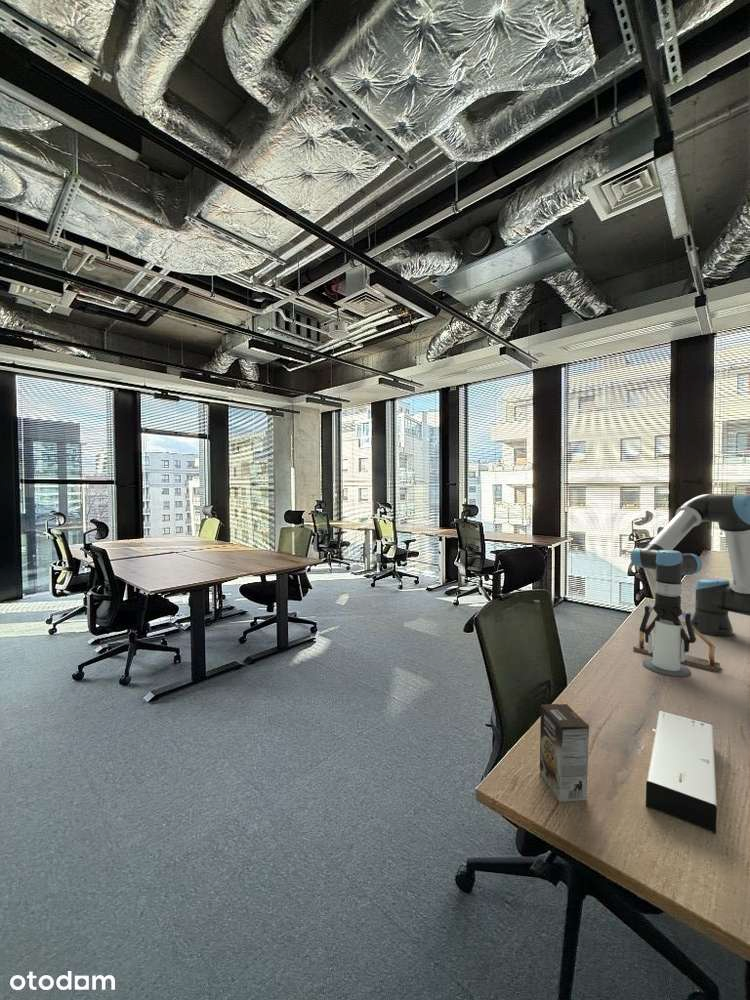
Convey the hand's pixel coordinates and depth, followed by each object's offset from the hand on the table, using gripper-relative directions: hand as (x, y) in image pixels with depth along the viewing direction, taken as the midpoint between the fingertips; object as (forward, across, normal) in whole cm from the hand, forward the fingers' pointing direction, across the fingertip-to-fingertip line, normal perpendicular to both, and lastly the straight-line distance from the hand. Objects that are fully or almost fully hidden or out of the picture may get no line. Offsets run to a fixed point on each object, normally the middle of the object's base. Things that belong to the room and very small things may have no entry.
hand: (666, 656), depth 152 cm
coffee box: (+4, +1, -87) cm, 87 cm away
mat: (+4, 0, 0) cm, 4 cm away
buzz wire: (+4, 0, +12) cm, 13 cm away
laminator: (+5, +17, -63) cm, 66 cm away
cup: (+4, 0, 0) cm, 4 cm away
